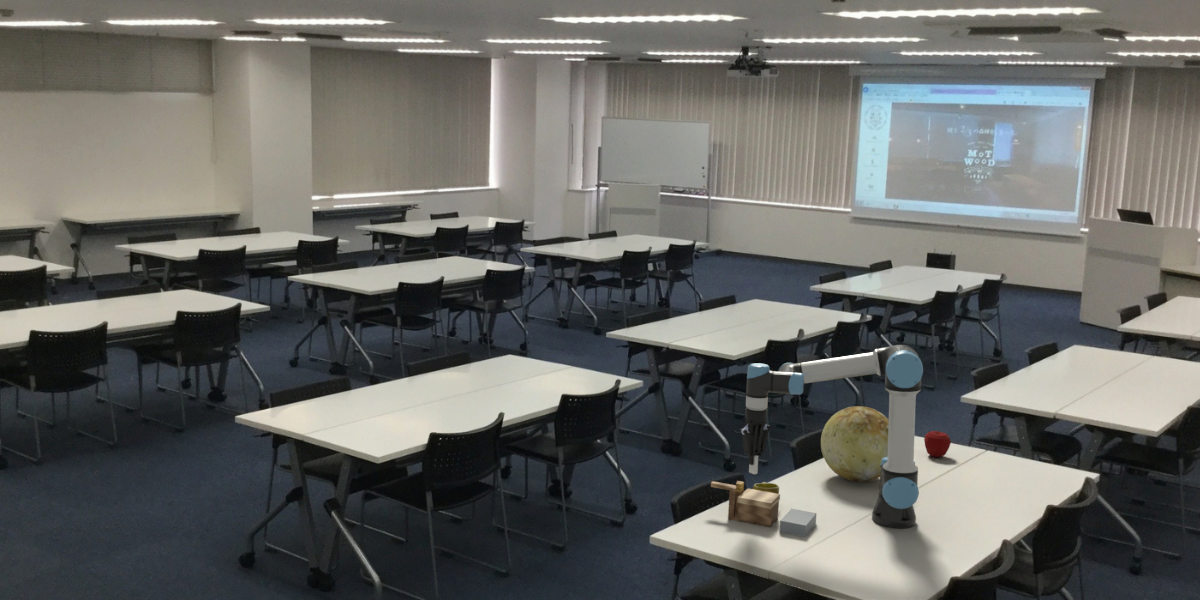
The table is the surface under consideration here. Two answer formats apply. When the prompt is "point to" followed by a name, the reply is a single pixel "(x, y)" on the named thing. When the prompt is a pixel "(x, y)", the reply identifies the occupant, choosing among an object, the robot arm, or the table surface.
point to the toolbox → (750, 511)
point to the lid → (759, 498)
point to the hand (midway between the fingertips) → (753, 473)
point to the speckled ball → (856, 443)
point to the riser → (798, 522)
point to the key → (728, 486)
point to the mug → (767, 487)
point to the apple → (937, 443)
